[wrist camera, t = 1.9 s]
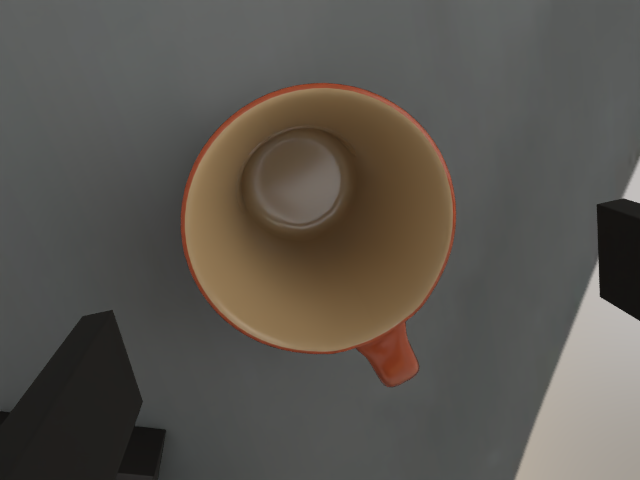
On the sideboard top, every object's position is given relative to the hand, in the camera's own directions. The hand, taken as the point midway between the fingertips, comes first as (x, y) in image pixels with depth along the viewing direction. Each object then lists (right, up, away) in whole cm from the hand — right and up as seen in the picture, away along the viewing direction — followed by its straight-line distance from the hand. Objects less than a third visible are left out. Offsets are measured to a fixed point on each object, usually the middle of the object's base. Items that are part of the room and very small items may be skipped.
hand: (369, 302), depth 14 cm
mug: (-2, +3, +13) cm, 14 cm away
